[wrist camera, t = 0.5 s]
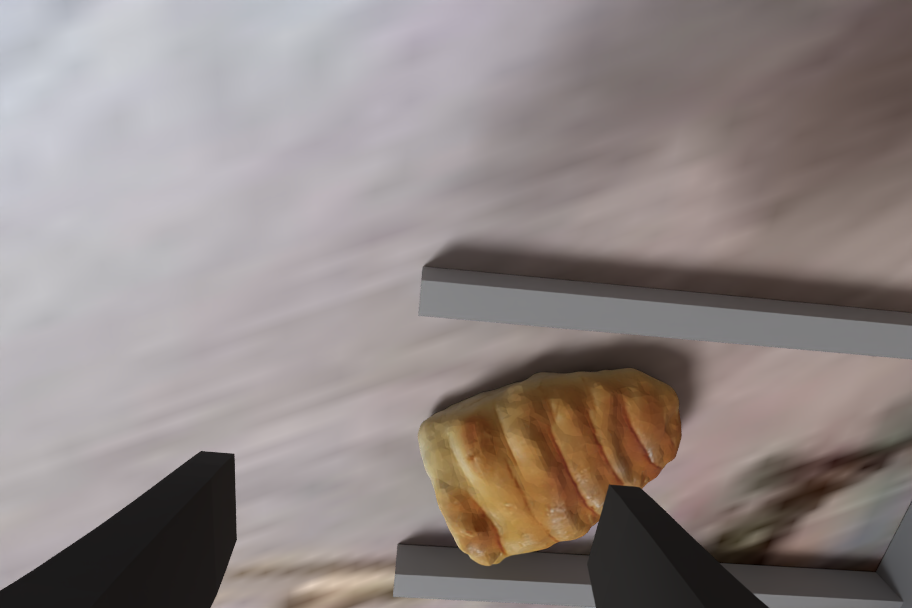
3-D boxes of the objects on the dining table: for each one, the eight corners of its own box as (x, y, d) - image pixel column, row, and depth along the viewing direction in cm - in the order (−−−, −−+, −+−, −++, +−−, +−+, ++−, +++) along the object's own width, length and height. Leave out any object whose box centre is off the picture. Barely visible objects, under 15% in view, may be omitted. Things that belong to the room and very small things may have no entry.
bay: (890, 593, 24) (950, 657, 21) (395, 566, 22) (389, 631, 20) (1034, 324, 19) (1136, 361, 16) (422, 266, 18) (419, 296, 15)
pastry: (634, 311, 19) (681, 360, 15) (688, 449, 21) (739, 520, 18) (404, 414, 20) (397, 481, 16) (478, 534, 22) (486, 616, 19)
